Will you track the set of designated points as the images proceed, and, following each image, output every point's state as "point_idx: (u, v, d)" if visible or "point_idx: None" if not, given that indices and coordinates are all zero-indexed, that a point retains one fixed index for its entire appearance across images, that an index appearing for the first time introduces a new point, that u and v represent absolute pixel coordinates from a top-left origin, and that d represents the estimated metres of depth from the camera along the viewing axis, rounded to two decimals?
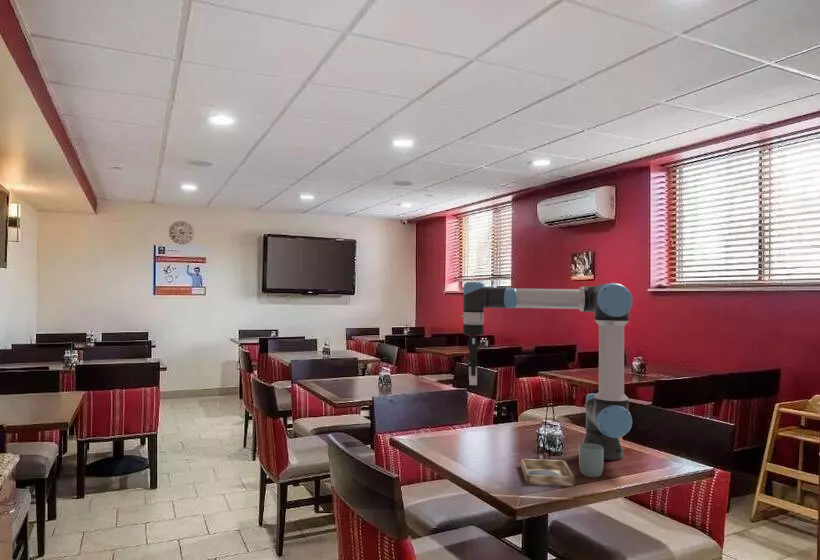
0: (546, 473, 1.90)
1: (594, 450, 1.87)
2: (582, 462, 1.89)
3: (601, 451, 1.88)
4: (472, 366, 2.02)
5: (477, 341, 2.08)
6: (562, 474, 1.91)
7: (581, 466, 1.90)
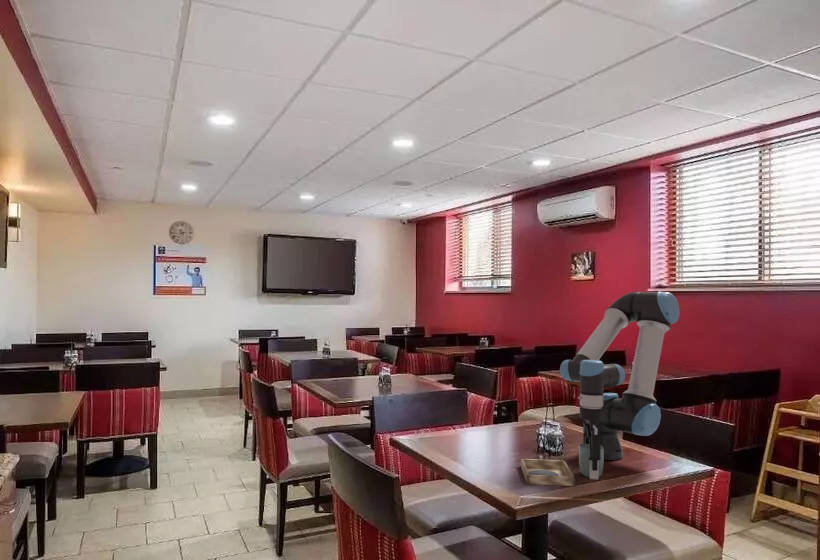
0: (546, 473, 1.90)
1: None
2: (582, 462, 1.89)
3: (601, 451, 1.88)
4: (594, 460, 1.85)
5: (597, 427, 1.89)
6: (562, 474, 1.91)
7: (581, 466, 1.90)
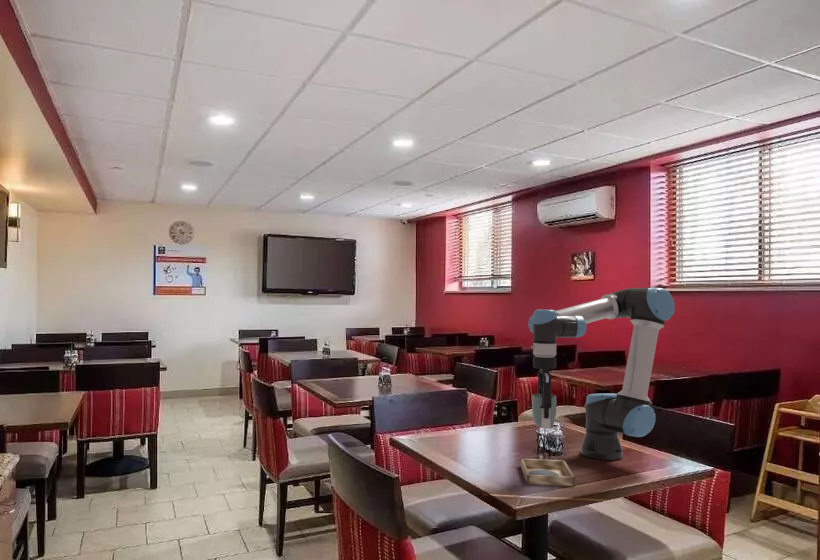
0: (546, 473, 1.90)
1: None
2: (535, 411, 1.88)
3: (553, 399, 1.87)
4: (545, 408, 1.84)
5: (549, 376, 1.88)
6: (562, 474, 1.91)
7: (534, 415, 1.89)
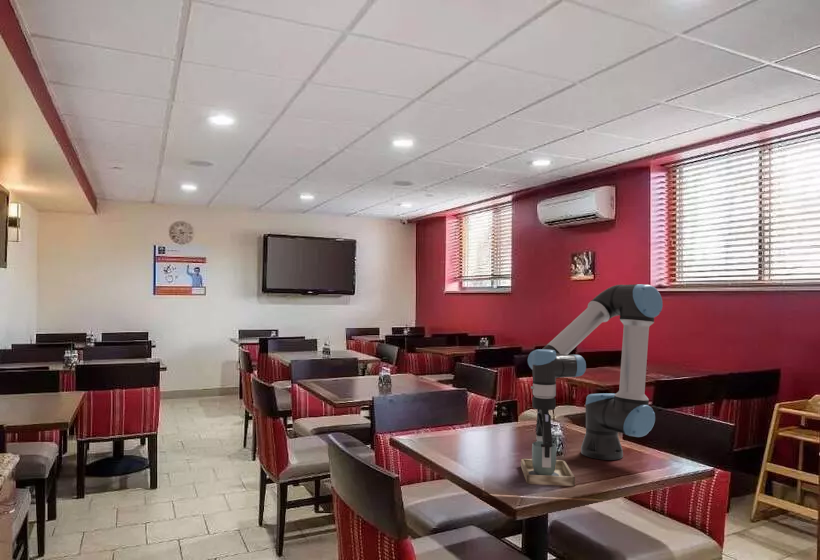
0: None
1: None
2: (534, 460, 1.87)
3: (553, 449, 1.86)
4: (546, 447, 1.81)
5: None
6: (562, 474, 1.91)
7: (533, 464, 1.88)
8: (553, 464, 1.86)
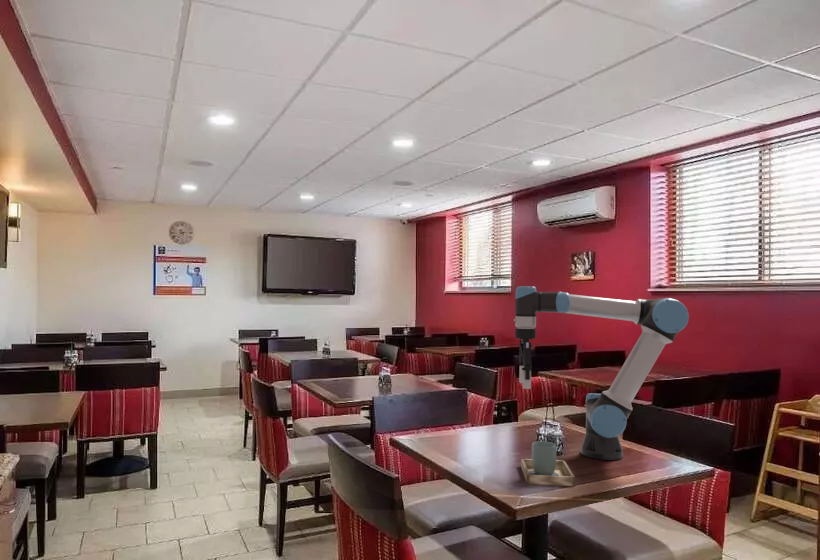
0: None
1: (545, 448, 1.85)
2: (534, 460, 1.87)
3: (553, 449, 1.86)
4: (526, 370, 2.03)
5: None
6: (562, 474, 1.91)
7: (533, 464, 1.88)
8: (553, 464, 1.86)
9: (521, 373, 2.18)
